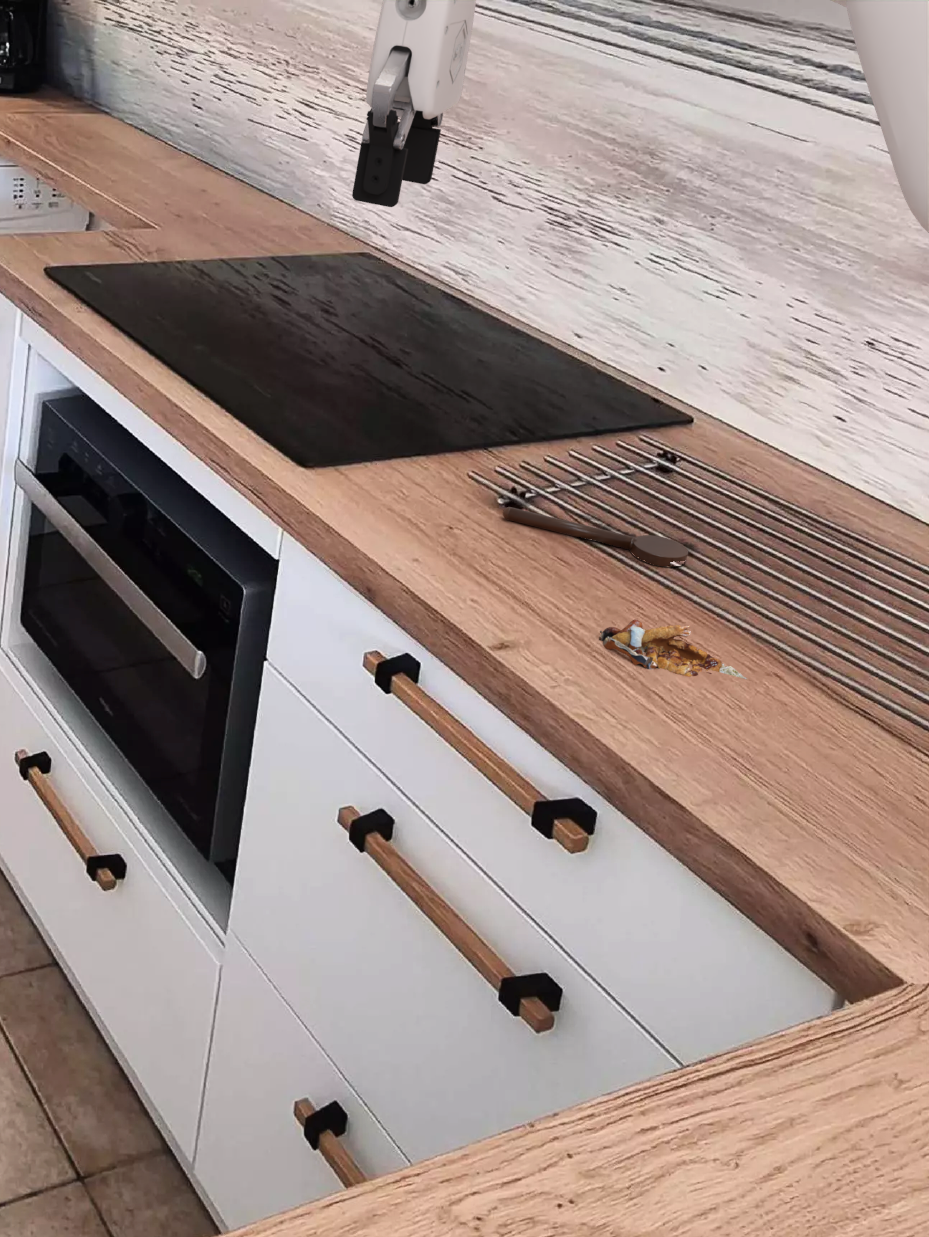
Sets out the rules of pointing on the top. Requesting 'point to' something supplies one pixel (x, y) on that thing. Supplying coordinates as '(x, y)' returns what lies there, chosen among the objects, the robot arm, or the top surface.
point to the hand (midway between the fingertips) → (392, 191)
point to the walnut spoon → (606, 537)
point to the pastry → (662, 649)
